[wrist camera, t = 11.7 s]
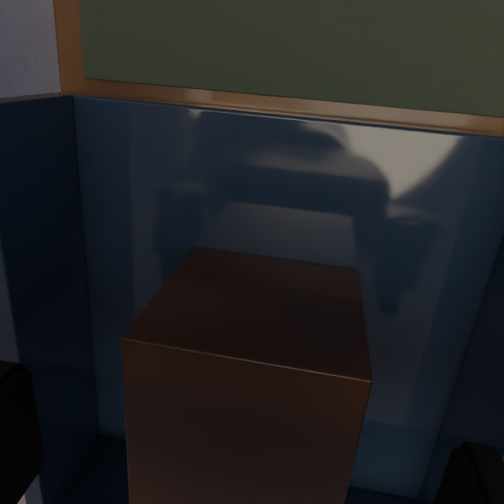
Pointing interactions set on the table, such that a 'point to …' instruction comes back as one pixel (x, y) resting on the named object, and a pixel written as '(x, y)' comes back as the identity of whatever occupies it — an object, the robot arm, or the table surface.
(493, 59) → the mat
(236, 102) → the stand
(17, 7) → the table surface
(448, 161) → the blue open box
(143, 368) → the block
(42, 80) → the table surface
